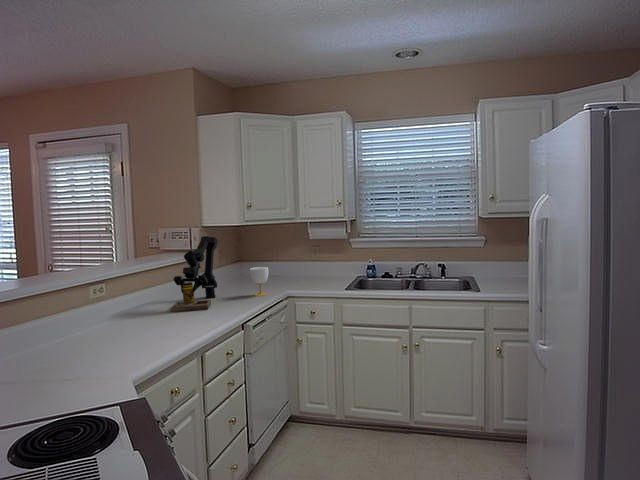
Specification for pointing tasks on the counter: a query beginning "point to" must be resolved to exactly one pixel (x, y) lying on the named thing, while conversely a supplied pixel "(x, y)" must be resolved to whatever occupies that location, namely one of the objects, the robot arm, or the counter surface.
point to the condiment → (188, 294)
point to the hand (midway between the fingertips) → (187, 292)
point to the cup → (259, 277)
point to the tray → (191, 306)
